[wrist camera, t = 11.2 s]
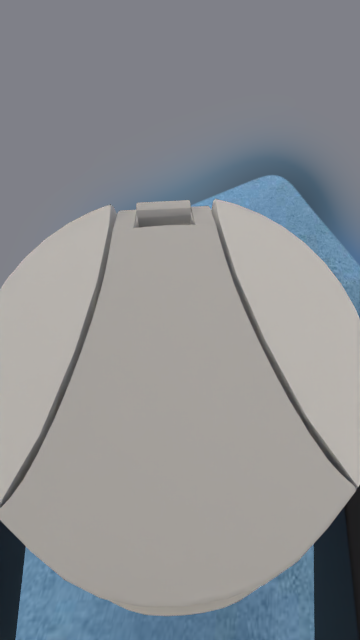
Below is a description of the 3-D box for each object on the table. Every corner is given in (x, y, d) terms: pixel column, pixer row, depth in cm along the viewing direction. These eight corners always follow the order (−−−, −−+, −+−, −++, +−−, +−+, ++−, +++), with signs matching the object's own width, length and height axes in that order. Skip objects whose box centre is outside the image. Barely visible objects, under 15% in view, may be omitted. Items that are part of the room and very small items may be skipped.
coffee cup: (124, 341, 20) (-18, 183, 6) (226, 335, 20) (336, 165, 6) (123, 458, 17) (-158, 721, 3) (240, 450, 17) (520, 666, 3)
